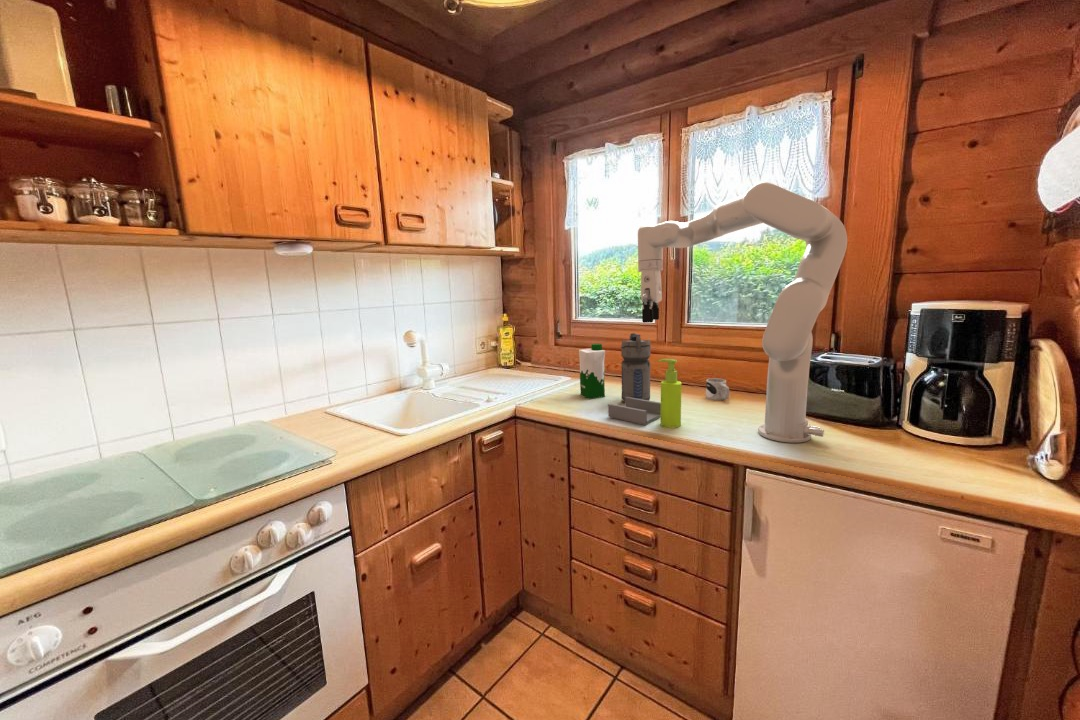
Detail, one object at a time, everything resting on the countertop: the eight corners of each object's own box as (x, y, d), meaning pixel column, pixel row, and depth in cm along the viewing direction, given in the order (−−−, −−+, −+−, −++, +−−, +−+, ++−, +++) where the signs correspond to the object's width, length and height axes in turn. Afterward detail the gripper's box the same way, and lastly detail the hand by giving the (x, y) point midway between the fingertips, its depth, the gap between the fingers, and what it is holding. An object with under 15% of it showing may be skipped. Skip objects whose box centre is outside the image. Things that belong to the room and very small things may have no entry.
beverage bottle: (645, 395, 162) (646, 330, 157) (653, 405, 149) (654, 334, 144) (618, 396, 162) (618, 331, 158) (624, 406, 149) (623, 335, 145)
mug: (702, 396, 158) (702, 379, 157) (717, 394, 160) (718, 377, 158) (719, 403, 148) (720, 385, 147) (736, 401, 150) (736, 383, 149)
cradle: (662, 416, 137) (662, 402, 136) (644, 425, 129) (644, 411, 128) (627, 409, 146) (626, 396, 145) (608, 417, 138) (608, 404, 137)
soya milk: (608, 397, 162) (607, 345, 158) (586, 400, 159) (585, 347, 156) (598, 391, 170) (597, 342, 167) (577, 394, 168) (576, 344, 164)
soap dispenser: (662, 419, 134) (662, 356, 130) (683, 423, 130) (685, 358, 126) (654, 424, 130) (654, 360, 126) (676, 428, 125) (677, 362, 122)
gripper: (657, 265, 124) (657, 323, 127) (667, 266, 140) (667, 318, 143) (631, 266, 128) (632, 323, 131) (644, 267, 143) (645, 318, 146)
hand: (650, 320), depth 137 cm, fingers open, 9 cm apart
